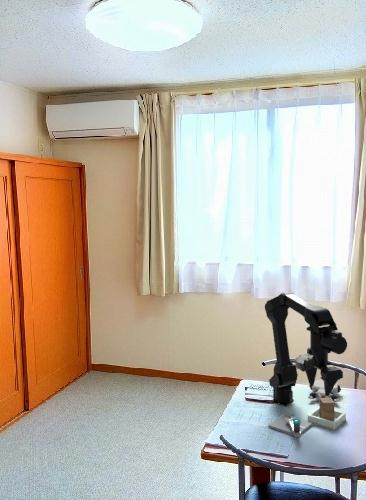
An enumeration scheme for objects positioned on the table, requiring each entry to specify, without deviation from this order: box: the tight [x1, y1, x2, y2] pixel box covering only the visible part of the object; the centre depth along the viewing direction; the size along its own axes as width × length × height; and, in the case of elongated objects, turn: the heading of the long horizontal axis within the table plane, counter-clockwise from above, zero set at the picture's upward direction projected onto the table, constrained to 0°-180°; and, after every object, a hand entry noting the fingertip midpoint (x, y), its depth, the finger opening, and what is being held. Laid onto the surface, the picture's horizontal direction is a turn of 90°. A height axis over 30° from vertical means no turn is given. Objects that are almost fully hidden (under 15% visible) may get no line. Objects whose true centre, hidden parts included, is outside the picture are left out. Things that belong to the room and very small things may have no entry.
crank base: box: [267, 413, 314, 437], centre depth 158 cm, size 11×11×1 cm
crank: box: [285, 415, 302, 438], centre depth 154 cm, size 12×4×5 cm, turn 179°
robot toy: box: [307, 379, 343, 403], centre depth 181 cm, size 12×4×15 cm
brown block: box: [319, 398, 336, 421], centre depth 161 cm, size 4×4×7 cm
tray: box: [307, 405, 347, 431], centre depth 161 cm, size 10×10×2 cm
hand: (319, 390), depth 157 cm, fingers open, 9 cm apart
